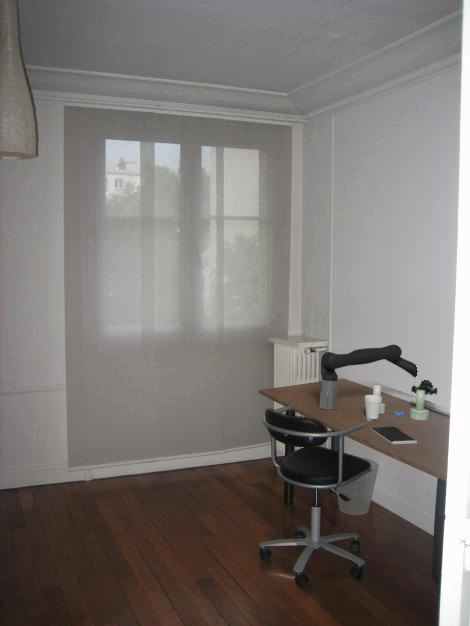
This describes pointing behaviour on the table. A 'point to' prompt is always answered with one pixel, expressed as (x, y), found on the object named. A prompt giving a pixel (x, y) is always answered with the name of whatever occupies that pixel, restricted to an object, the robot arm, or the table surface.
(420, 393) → the pale green pedestal post
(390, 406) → the table surface
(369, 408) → the foam cup
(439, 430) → the table surface
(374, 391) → the white joystick
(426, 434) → the table surface
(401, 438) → the smartphone
